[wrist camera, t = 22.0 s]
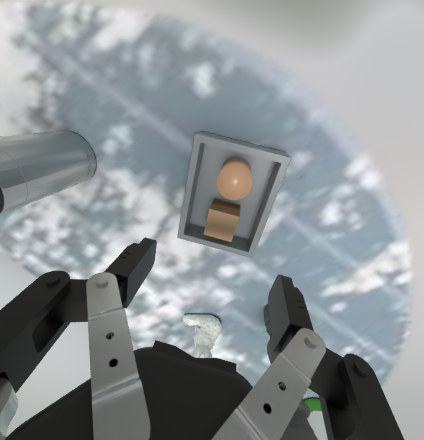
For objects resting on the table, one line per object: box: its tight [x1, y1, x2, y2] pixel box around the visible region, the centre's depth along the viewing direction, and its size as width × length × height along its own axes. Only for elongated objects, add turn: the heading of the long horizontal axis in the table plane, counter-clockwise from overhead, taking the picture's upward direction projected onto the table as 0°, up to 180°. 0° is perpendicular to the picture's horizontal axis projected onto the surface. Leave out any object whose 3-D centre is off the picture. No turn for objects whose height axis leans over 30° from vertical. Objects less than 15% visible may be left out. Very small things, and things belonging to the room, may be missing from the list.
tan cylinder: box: [217, 156, 252, 200], centre depth 33 cm, size 5×5×7 cm
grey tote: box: [177, 131, 291, 258], centre depth 37 cm, size 14×18×5 cm
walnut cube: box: [204, 198, 240, 242], centre depth 38 cm, size 5×5×5 cm
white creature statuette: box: [183, 314, 222, 358], centre depth 50 cm, size 10×9×12 cm
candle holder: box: [264, 305, 318, 440], centre depth 39 cm, size 6×6×25 cm
